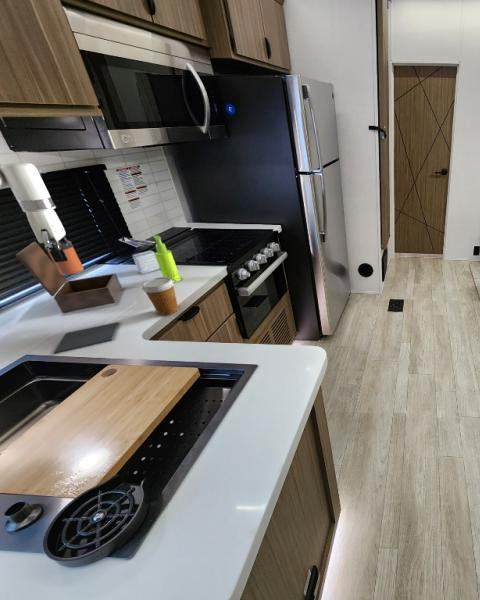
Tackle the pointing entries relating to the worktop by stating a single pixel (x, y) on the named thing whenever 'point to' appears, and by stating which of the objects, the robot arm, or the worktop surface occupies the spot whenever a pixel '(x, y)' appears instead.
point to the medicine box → (146, 261)
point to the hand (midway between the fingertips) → (64, 257)
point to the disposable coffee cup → (161, 294)
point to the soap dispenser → (166, 261)
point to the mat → (87, 337)
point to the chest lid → (41, 268)
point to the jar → (73, 261)
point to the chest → (88, 292)
